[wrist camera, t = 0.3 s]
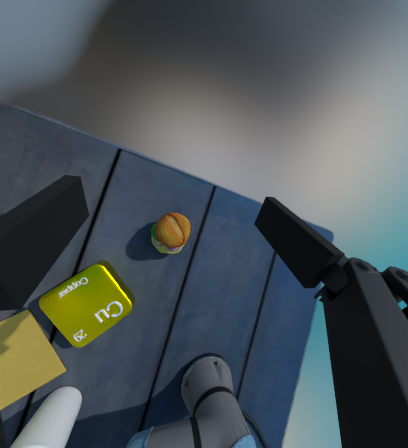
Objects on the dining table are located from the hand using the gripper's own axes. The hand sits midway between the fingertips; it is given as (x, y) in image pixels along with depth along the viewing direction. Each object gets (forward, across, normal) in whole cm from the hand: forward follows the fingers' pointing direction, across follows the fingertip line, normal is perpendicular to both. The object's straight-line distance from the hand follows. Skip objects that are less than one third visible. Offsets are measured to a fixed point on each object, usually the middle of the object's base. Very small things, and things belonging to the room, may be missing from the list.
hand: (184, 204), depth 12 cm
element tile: (+18, +17, +38) cm, 45 cm away
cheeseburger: (+27, -1, +24) cm, 36 cm away
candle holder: (+3, +23, +59) cm, 63 cm away
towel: (+9, +35, +50) cm, 62 cm away
